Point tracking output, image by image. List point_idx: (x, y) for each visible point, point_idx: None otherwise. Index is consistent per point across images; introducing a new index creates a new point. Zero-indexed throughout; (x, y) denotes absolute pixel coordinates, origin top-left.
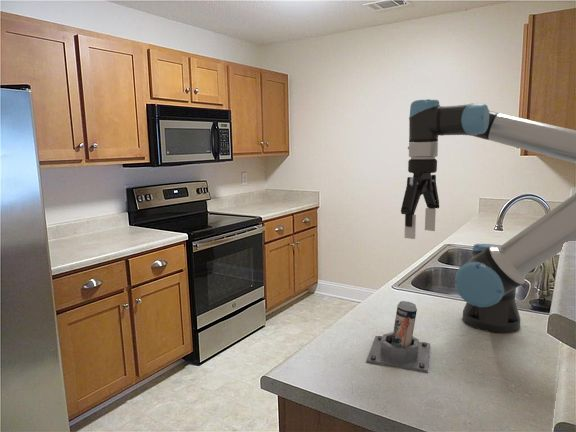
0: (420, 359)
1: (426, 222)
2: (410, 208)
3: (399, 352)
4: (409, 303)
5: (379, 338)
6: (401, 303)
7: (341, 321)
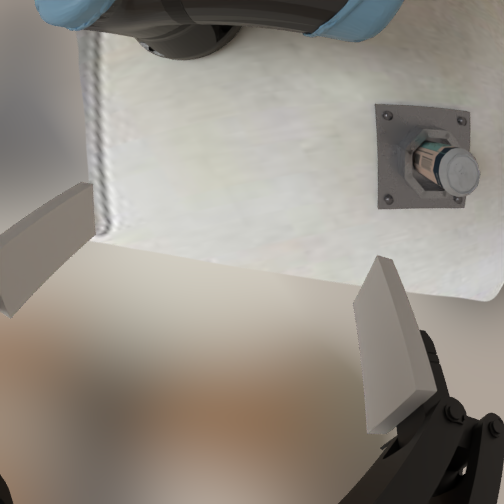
0: (443, 122)
1: (67, 251)
2: (501, 447)
3: None
4: (455, 170)
5: (393, 200)
6: (466, 189)
7: (325, 278)
